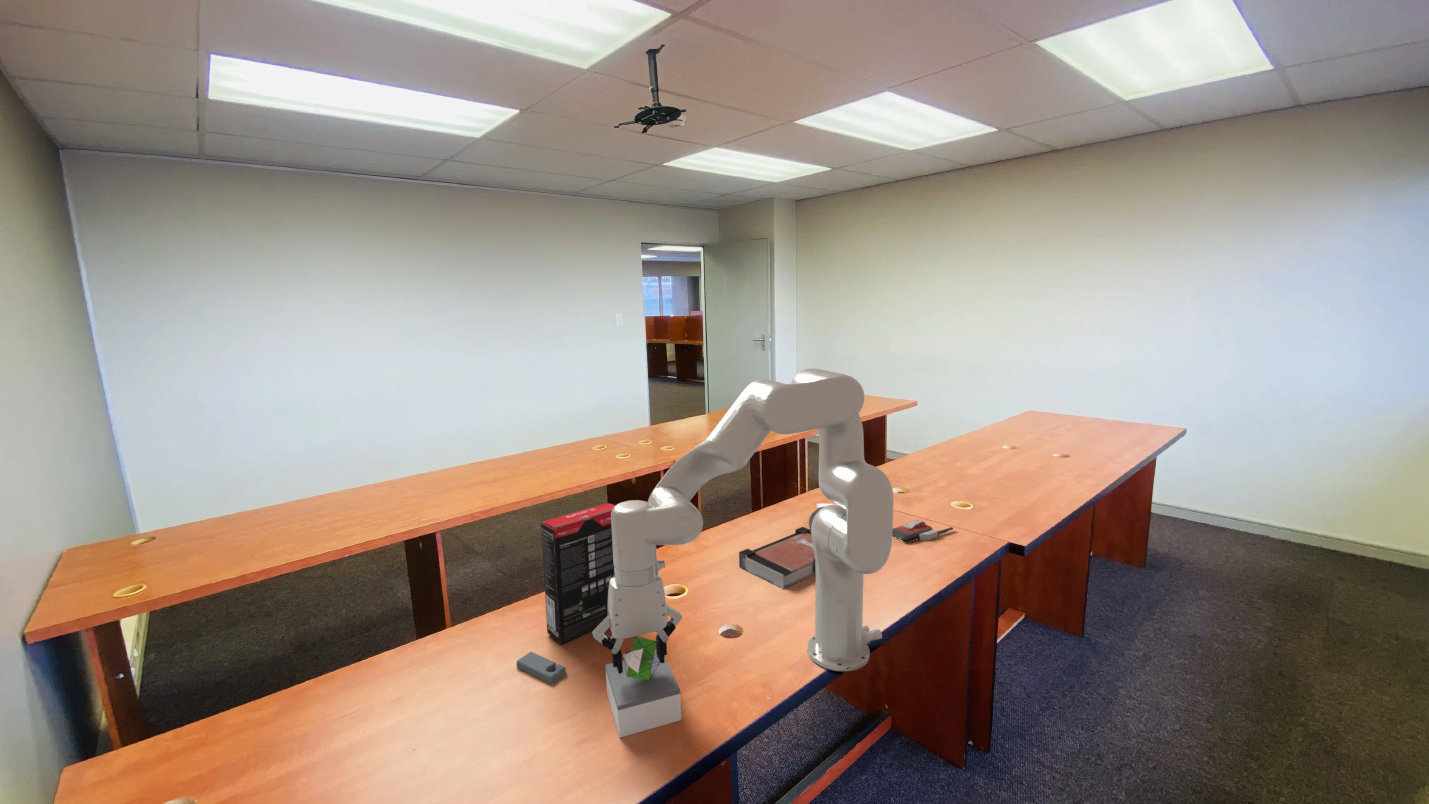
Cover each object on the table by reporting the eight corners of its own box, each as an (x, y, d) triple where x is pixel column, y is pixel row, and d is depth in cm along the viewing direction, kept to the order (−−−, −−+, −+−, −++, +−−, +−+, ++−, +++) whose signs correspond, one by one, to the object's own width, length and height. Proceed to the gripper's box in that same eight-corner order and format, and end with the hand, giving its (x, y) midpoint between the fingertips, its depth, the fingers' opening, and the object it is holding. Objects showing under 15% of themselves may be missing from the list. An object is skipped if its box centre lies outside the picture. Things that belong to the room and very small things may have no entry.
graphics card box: (610, 606, 139) (604, 499, 134) (627, 616, 134) (621, 506, 129) (546, 635, 127) (537, 520, 122) (562, 648, 122) (553, 528, 117)
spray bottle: (808, 534, 180) (810, 508, 204) (843, 536, 178) (841, 509, 201) (808, 525, 179) (810, 500, 203) (843, 527, 177) (841, 501, 201)
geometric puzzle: (626, 645, 107) (629, 625, 102) (662, 653, 107) (666, 632, 102) (617, 684, 102) (619, 664, 97) (654, 691, 102) (658, 672, 97)
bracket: (531, 659, 119) (531, 650, 119) (566, 675, 114) (566, 666, 113) (516, 669, 116) (515, 660, 116) (551, 686, 110) (550, 677, 110)
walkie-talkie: (909, 547, 168) (955, 533, 177) (909, 533, 167) (956, 520, 176) (887, 537, 175) (932, 524, 185) (887, 524, 175) (933, 511, 184)
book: (785, 592, 144) (785, 573, 143) (739, 568, 157) (739, 551, 157) (849, 560, 161) (849, 544, 160) (802, 542, 174) (802, 526, 173)
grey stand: (663, 679, 111) (661, 651, 110) (681, 720, 100) (680, 689, 99) (607, 693, 107) (605, 664, 106) (619, 737, 96) (617, 706, 95)
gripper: (677, 554, 106) (680, 641, 109) (582, 571, 100) (588, 663, 103) (689, 571, 99) (692, 664, 102) (588, 591, 93) (594, 689, 96)
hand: (640, 663), depth 102 cm, fingers closed on geometric puzzle, 7 cm apart
